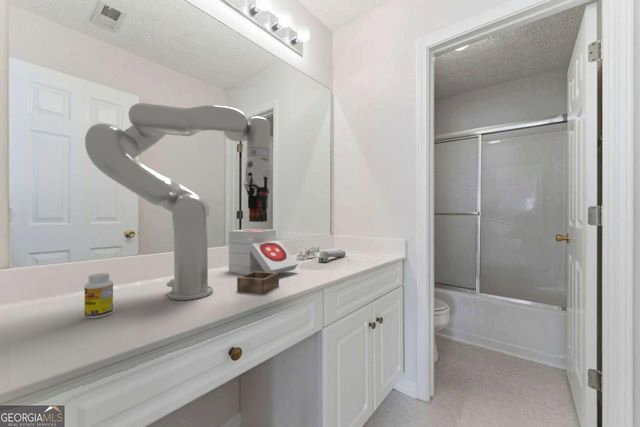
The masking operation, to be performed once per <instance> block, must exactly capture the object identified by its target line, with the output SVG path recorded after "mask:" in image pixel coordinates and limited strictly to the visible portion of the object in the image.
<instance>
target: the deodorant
mask: <svg viewBox="0 0 640 427" xmlns="http://www.w3.org/2000/svg"><path fill="white" fill-rule="evenodd" d="M252 186H255V185H252ZM253 191H254V189H253ZM256 196H257V208H248V210H249V212H248V222H249V223H251V222H253V223H263V222H264V223H265V222H266V223H267V222H268V208H267V177H264V187H263V188H259V187H258V189H257V194H256Z"/></svg>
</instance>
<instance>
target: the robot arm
mask: <svg viewBox="0 0 640 427" xmlns="http://www.w3.org/2000/svg"><path fill="white" fill-rule="evenodd" d="M128 120H129V122H130V124H131V126H129V127H128V128H126V129H125V130H122V129H121V128H119V127H118V126H115V125H113V124H108V123H96V124H93V125H92V126H91V127H89V129H88V130H87V131H86V134H85V137H84V138H85V139H84V146H85V150H86V154H87V156H88V158H89V159H90V161H91V162H92V164H93V165H94V166H95V167H96V168H97V169H98V170H99V171H100V172H102V173H103V174H104V175H105V176H107V177H108V178H110V179H111V180H113V181H115V182H116V183H118V185H121V186H123V187H124V188H126V189H127V190H128V191H131V192H132V193H134V194H135V195H138V196H139V197H141V198H142V199H144V200H145V201H147V202H148V203H149V204H152V205H154V206H159V207H161V208H164V209H165V210H166V211H169V212H170V213H171V217H172V227H173V229H172V230H173V252H174V253H173V257H174V258H173V260H174V261H173V262H174V263H173V268H174V269H173V271H174V272H173V273H174V274H173V276H174V279H173V278H171V279H170V280H169V282H166V287H168V288H169V287H171V291H169V292H168V298H169V299H171V300H175V301H188V300H196V299H200V298H204V297H207V296H210V295H211V294H212V293H213V292H214V288H213V287H212V286H210V285H209V284H208V281H209V280H208V279H209V277H208V275H209V273H208V268H209V267H208V266H209V265H208V262H209V261H208V254H209V253H208V221H207V220H208V217H209V215H210V211H211V210H210V204H209V203H208V202H207V200H205V199H204V197H202V196H200V195H198V194H196V193H195V192H193V191H192V190H190V189H188V188H187V187H185V186H183V185H182V184H180V183H178V182H177V181H175V180H174V179H171V178H169V177H168V176H165V175H163V174H160V173H159V172H157V171H155V170H154V169H152V168H150V167H149V166H147V165H145V164H144V163H143V162H140V161H139V160H137V159H136V158H137V157H139V156H140V155H141V154H143V153H144V152H146V151H147V150H149V149H150V148H151V147H153V146H154V145H156V143H158V142H159V141H160V140H162V139H163V138H164V137H165V136H166V135H169V136H181V137H191V136H194V135H196V134H197V133H200V132H204V131H217V132H220V131H221V132H223V134H224V135H225V137H226V138H227V139H228V140H230V141H232V142H246V163H245V177H244V178H245V179H244V182H243V186H244V188H245V191H246V196H247V208H248V209H249V208H257V196H256V194H257V189H258V187H259V188H263V187H264V177H267V209H268V204H269V203H268V198H269V194H270V192H271V189H272V187H273V186H272V185H273V184H272V180H273V178H272V167H271V161H270V160H271V159H270V156H271V155H270V154H271V153H270V152H271V151H270V150H271V145H270V143H271V142H270V141H271V135H270V134H271V127H270V126H271V124H270V121H269V120H268V119H267V118H265V117H261V116H252V117H250V118H247V117H246V115H245V114H244V113H243V111H241V110H239V109H237V108H233V107H229V106H222V105H221V106H220V105H210V104H209V105H208V104H207V105H206V104H205V105H200V106H192V107H180V106H171V105H162V104H156V103H154V104H152V103H145V102H142V103H141V102H139V103H134V104H133V105H131V106H130V108H129V109H128ZM252 185H255V186H252ZM253 189H254V191H253Z"/></svg>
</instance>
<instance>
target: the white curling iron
mask: <svg viewBox="0 0 640 427" xmlns="http://www.w3.org/2000/svg"><path fill="white" fill-rule="evenodd" d="M343 257H346V252H345V250H342V249H338V250H330V251H329V250H328V251H327V250H320V252H319V256H317V258H318V260H317V261H318V262H319V263H328V262H329V258H343Z"/></svg>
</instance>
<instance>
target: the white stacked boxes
mask: <svg viewBox="0 0 640 427" xmlns="http://www.w3.org/2000/svg"><path fill="white" fill-rule="evenodd" d="M276 232H277V230H276V229H262V228H261V229H257V228H255V229H251V228H248V229H247V228H246V229H238V230H229V231H228V272H230V273H235V274H239V275H246V274H248V273H251V272H254V271H256V272H270V273H279V274H281V273H285V272H289V271H293V270H295V269H296V268H297V266H298V265H299V264H298V263H297V261H296V260H295V258H294V257H292V255H291V254H290V253H289V251H288V250H287V249H286V247H285V246H284V245H283V244H282V242H281V241H280V240H277V236H276V235H277V234H276Z"/></svg>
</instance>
